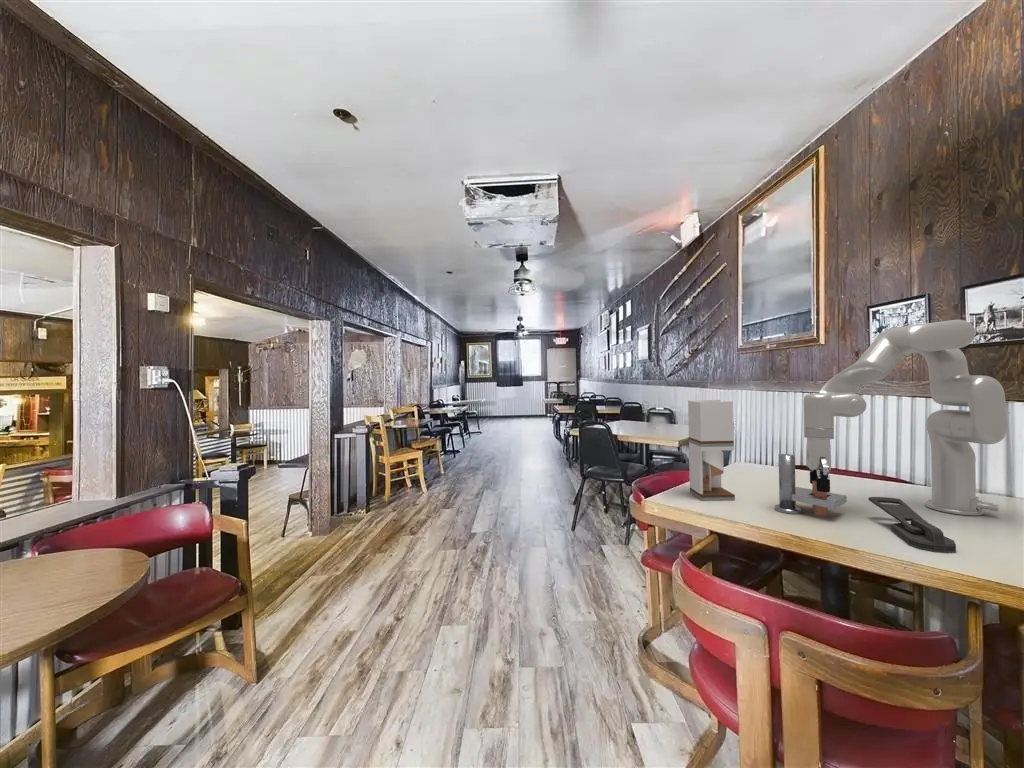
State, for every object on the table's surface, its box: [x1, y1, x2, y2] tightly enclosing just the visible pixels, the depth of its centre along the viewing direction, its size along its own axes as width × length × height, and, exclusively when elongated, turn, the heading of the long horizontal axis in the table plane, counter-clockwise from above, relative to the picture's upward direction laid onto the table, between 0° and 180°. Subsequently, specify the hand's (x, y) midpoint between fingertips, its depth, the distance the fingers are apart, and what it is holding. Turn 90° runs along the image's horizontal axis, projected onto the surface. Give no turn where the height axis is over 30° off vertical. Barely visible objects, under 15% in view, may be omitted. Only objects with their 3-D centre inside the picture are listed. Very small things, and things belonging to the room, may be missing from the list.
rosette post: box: [774, 453, 848, 515], centre depth 129 cm, size 16×13×18 cm
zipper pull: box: [868, 496, 957, 554], centre depth 110 cm, size 9×7×25 cm
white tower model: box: [687, 399, 736, 502], centre depth 148 cm, size 11×11×35 cm
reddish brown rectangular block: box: [811, 481, 828, 517], centre depth 127 cm, size 3×3×10 cm
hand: (819, 487), depth 127 cm, fingers open, 9 cm apart
